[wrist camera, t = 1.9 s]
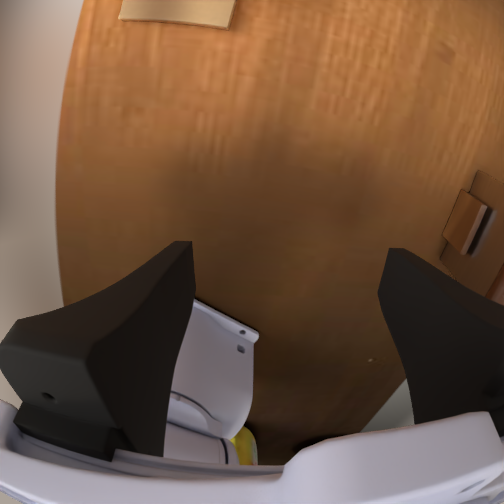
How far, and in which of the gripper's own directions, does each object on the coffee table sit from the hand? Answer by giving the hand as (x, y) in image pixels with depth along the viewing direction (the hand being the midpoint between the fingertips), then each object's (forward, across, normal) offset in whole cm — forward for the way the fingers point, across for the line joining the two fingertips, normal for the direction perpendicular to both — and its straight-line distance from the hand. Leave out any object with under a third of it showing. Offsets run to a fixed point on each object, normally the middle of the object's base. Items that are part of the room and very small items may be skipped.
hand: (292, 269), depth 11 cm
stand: (+10, -15, +2) cm, 18 cm away
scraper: (+10, -15, +1) cm, 18 cm away
